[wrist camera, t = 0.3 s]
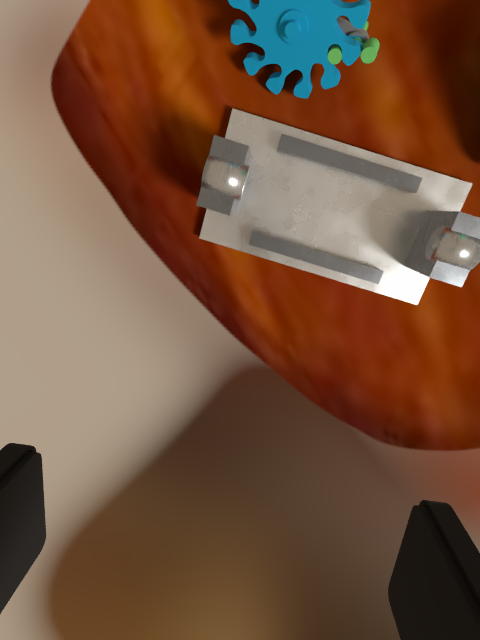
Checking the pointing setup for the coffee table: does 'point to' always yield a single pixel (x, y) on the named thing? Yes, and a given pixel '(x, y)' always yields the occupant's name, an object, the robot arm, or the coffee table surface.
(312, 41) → the gear
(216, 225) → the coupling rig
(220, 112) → the coffee table surface
